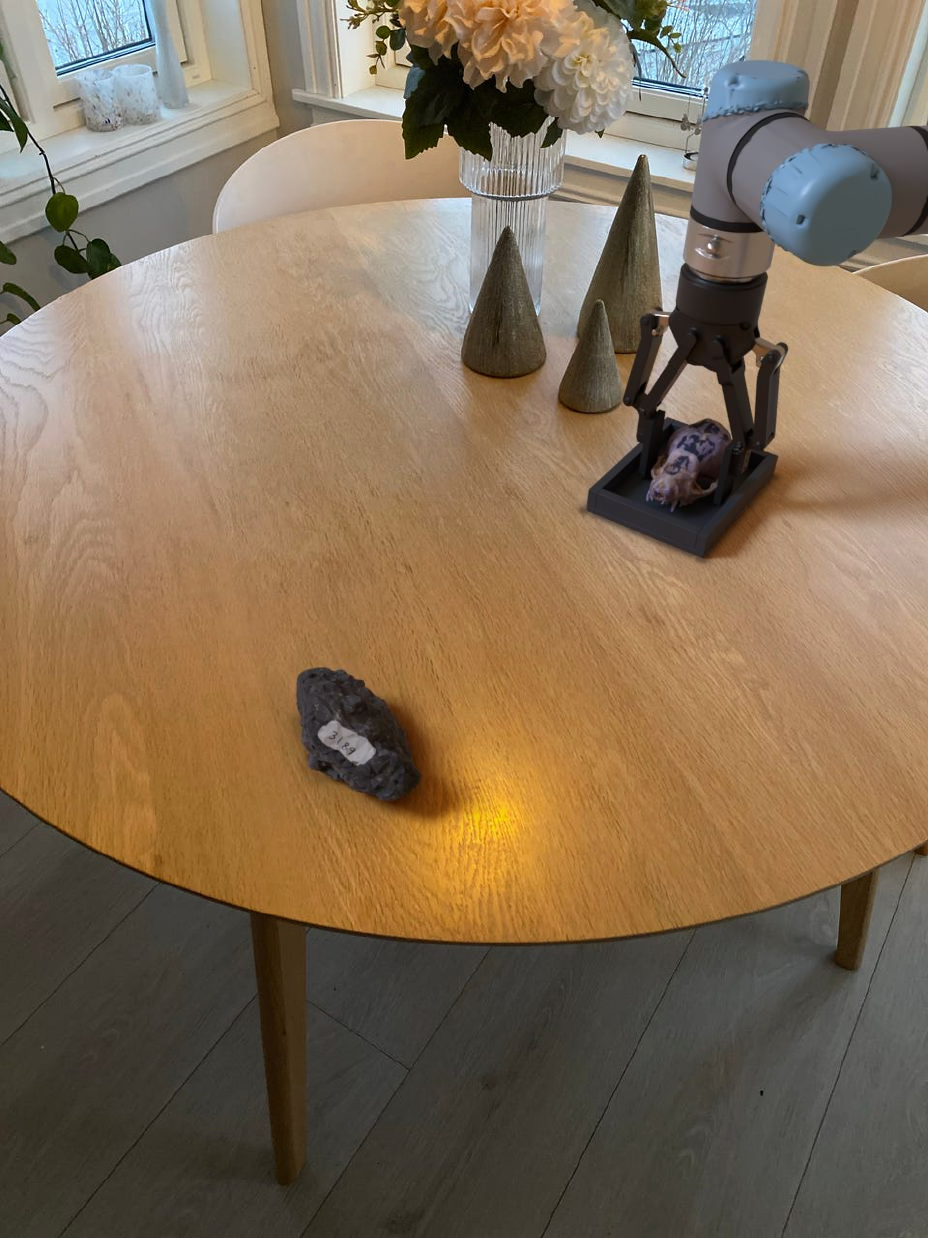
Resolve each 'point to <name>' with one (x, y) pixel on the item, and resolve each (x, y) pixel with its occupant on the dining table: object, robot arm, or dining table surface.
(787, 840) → the dining table surface
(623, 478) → the tray
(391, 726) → the rock
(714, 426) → the skull
